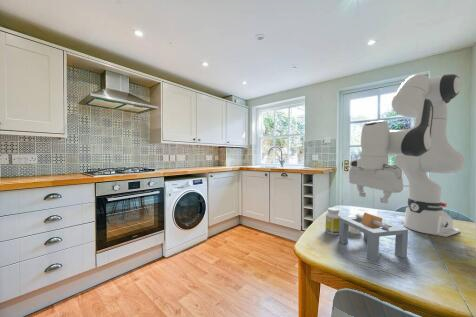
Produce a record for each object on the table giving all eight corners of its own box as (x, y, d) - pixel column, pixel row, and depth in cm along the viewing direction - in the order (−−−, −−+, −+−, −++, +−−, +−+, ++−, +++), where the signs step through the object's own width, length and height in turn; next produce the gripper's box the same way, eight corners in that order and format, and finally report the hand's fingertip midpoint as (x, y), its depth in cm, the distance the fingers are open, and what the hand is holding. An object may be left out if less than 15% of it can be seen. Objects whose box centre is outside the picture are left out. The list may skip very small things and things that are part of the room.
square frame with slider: (368, 237, 87) (369, 211, 87) (406, 257, 72) (408, 225, 71) (338, 240, 84) (339, 213, 83) (372, 261, 68) (373, 228, 68)
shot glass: (365, 235, 90) (366, 219, 89) (348, 233, 91) (349, 218, 91) (359, 229, 96) (360, 215, 96) (344, 228, 98) (344, 213, 98)
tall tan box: (370, 234, 79) (375, 215, 79) (377, 237, 76) (382, 218, 76) (358, 230, 78) (364, 212, 78) (365, 233, 75) (370, 214, 75)
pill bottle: (340, 231, 93) (341, 208, 93) (339, 236, 88) (340, 211, 88) (326, 228, 96) (327, 206, 96) (324, 233, 91) (325, 209, 91)
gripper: (409, 165, 67) (407, 206, 67) (359, 161, 87) (358, 193, 87) (394, 166, 65) (392, 207, 66) (346, 162, 85) (345, 194, 86)
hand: (372, 199), depth 77 cm, fingers open, 8 cm apart
